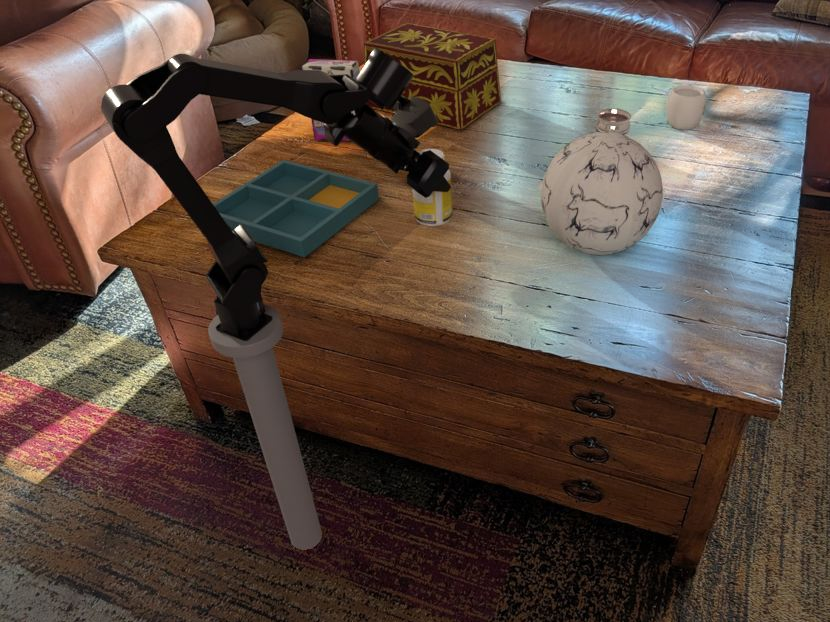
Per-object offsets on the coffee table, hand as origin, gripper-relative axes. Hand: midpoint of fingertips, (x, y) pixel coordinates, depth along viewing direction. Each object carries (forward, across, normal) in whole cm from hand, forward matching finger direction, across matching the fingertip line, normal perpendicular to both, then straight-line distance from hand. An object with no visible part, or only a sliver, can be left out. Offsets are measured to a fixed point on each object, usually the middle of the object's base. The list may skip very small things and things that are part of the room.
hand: (438, 181), depth 121 cm
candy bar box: (+12, +51, +6) cm, 52 cm away
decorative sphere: (+24, -16, -7) cm, 30 cm away
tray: (-4, +25, +21) cm, 33 cm away
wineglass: (+38, +4, -21) cm, 44 cm away
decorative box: (+30, +55, -13) cm, 64 cm away
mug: (+60, +13, -43) cm, 75 cm away
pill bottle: (+4, 0, +6) cm, 7 cm away
